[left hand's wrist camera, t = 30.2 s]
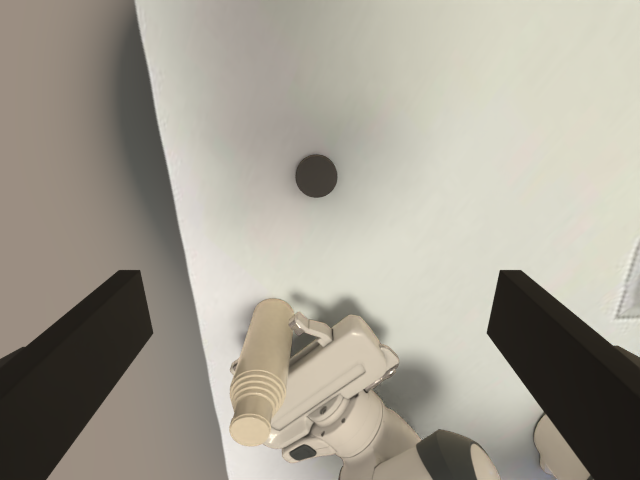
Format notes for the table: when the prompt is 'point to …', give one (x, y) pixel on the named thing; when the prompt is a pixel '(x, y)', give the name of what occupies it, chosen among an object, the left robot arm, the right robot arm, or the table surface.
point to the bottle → (261, 373)
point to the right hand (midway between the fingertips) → (263, 341)
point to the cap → (316, 176)
